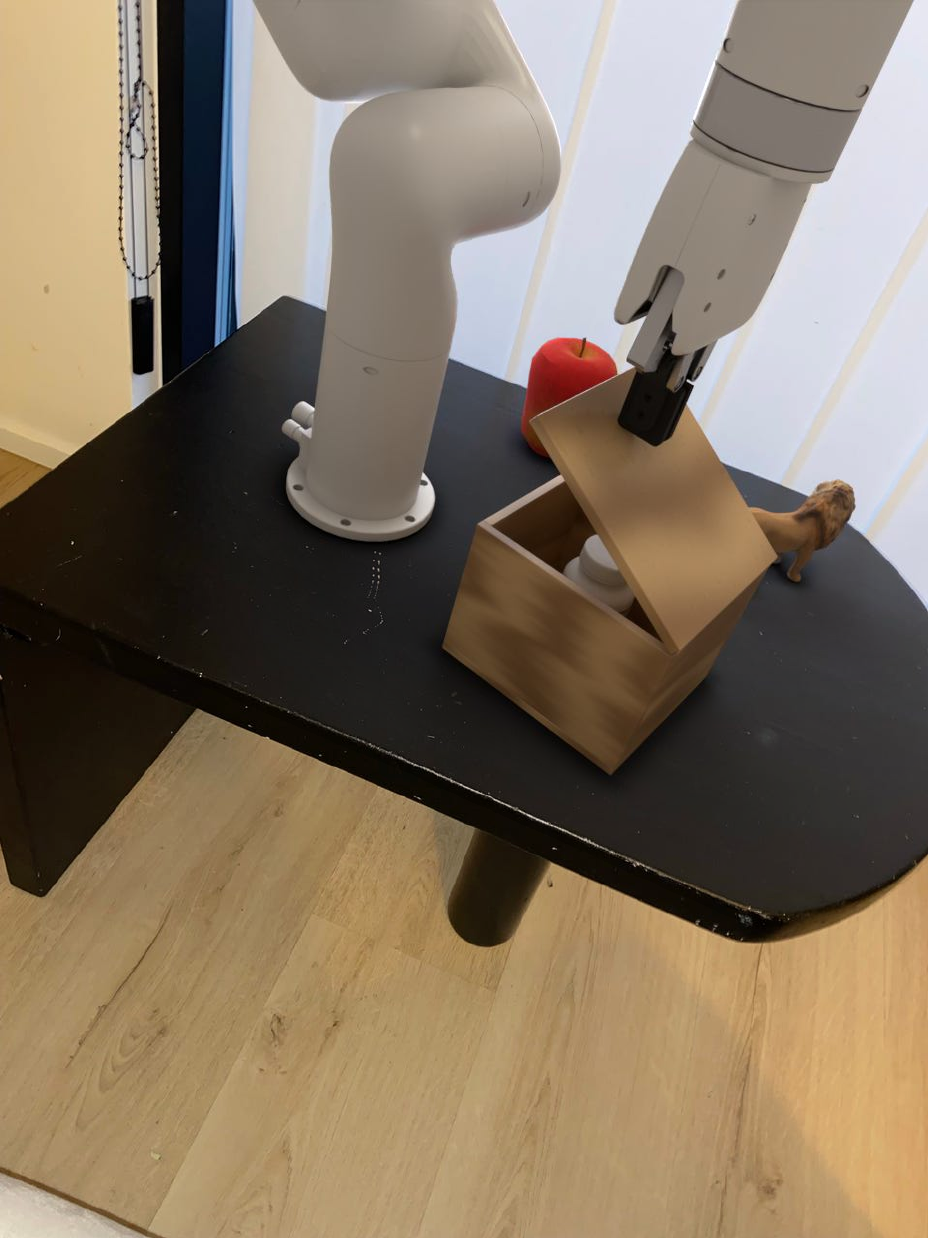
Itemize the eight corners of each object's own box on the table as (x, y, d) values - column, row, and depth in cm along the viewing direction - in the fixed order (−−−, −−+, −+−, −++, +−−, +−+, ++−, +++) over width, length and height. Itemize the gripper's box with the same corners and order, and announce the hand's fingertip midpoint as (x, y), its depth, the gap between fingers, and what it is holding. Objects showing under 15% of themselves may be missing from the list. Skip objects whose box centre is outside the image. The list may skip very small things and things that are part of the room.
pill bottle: (602, 685, 70) (648, 587, 63) (532, 663, 70) (570, 563, 63) (608, 637, 74) (651, 540, 67) (542, 616, 74) (579, 518, 67)
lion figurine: (793, 541, 90) (838, 464, 84) (830, 577, 87) (879, 500, 81) (674, 561, 84) (714, 479, 78) (709, 601, 81) (753, 519, 75)
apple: (594, 479, 91) (635, 369, 83) (509, 461, 90) (542, 348, 82) (589, 431, 97) (627, 325, 89) (509, 414, 96) (541, 305, 88)
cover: (528, 421, 56) (536, 415, 55) (649, 360, 65) (657, 354, 64) (670, 655, 56) (680, 651, 56) (769, 561, 66) (778, 557, 65)
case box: (441, 647, 70) (476, 524, 62) (551, 570, 79) (593, 454, 71) (610, 776, 64) (672, 658, 56) (706, 676, 74) (770, 564, 66)
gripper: (768, 85, 53) (652, 373, 66) (634, 105, 43) (527, 438, 56) (889, 137, 51) (744, 426, 63) (776, 171, 41) (631, 505, 53)
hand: (643, 431), depth 59 cm, fingers closed
